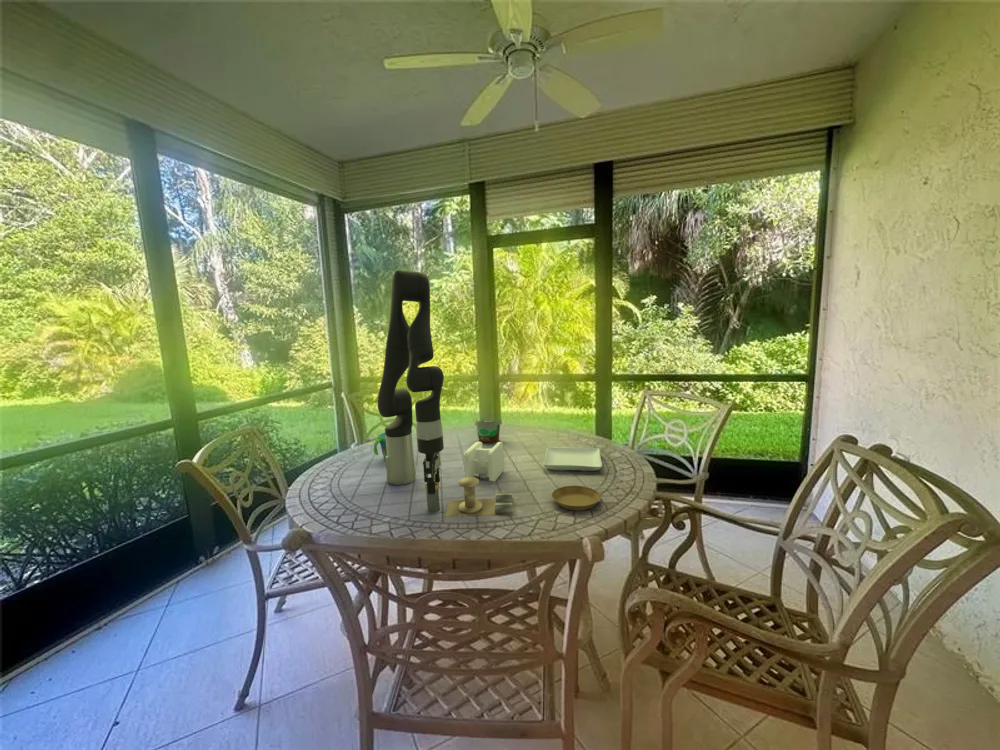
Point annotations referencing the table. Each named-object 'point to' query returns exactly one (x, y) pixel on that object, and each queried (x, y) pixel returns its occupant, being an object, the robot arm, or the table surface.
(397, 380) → the robot arm
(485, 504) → the winding board
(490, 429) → the food container
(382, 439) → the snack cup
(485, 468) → the cable organizer
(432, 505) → the spice jar
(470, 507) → the bobbin
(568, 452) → the salad plate
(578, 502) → the plant saucer
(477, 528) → the table surface
